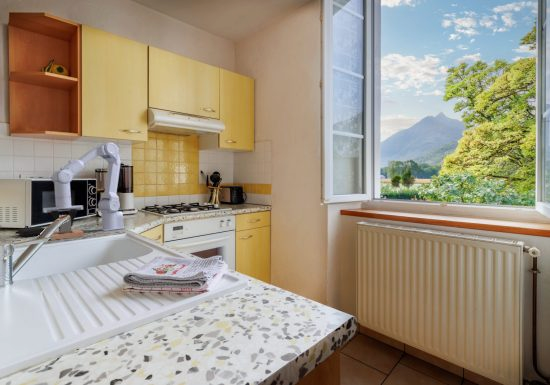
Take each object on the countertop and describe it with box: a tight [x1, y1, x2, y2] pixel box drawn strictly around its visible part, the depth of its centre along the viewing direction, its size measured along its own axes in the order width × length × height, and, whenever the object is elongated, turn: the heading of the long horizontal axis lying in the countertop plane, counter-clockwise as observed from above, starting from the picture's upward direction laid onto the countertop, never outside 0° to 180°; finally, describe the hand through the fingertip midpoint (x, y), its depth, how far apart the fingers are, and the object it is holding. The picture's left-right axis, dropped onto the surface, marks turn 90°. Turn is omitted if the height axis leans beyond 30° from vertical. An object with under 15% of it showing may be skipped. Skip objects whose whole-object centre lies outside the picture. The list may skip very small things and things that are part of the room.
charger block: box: [58, 216, 73, 233], centre depth 134 cm, size 4×5×7 cm
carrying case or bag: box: [15, 226, 46, 238], centre depth 143 cm, size 11×3×15 cm
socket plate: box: [51, 228, 85, 240], centre depth 135 cm, size 12×13×2 cm
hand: (65, 226), depth 134 cm, fingers closed on charger block, 4 cm apart
